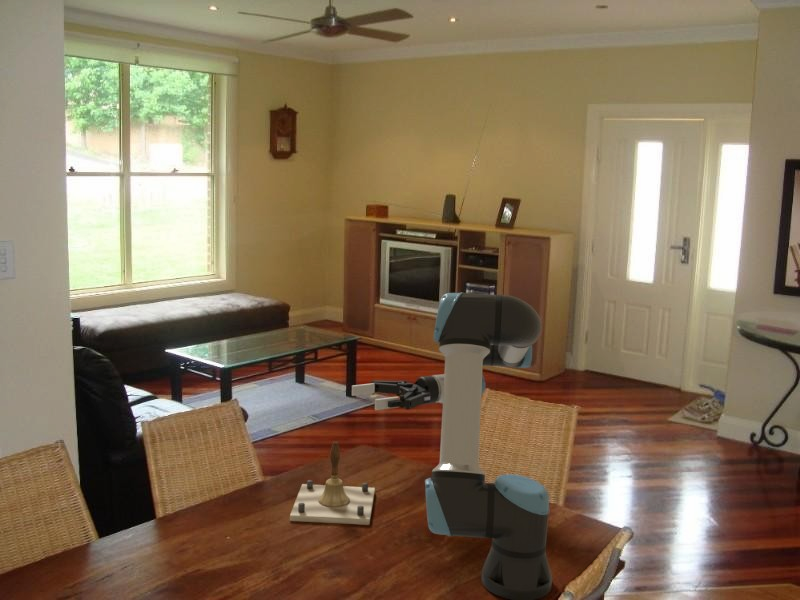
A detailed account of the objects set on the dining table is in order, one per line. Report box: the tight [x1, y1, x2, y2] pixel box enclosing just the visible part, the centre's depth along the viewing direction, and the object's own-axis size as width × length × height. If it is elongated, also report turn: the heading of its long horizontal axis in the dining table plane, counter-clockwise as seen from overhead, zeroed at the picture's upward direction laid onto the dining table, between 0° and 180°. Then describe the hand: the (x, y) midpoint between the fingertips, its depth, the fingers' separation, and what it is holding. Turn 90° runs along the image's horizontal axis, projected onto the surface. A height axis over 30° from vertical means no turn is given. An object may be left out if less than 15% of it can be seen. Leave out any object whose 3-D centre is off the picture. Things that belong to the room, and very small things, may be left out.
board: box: [289, 479, 376, 526], centre depth 213 cm, size 20×20×4 cm
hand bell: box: [318, 441, 350, 507], centre depth 212 cm, size 8×8×16 cm
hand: (363, 397), depth 212 cm, fingers open, 13 cm apart
